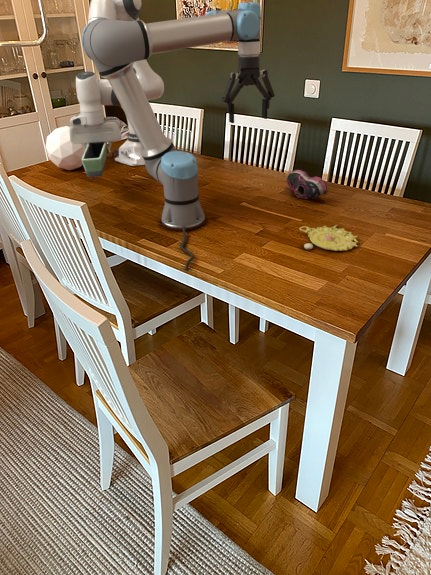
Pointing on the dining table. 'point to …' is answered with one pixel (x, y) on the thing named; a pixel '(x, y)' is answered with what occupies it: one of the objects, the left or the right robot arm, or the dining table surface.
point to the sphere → (64, 149)
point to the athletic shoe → (306, 185)
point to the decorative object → (330, 238)
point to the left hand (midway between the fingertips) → (98, 153)
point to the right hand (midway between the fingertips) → (248, 120)
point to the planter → (95, 159)
